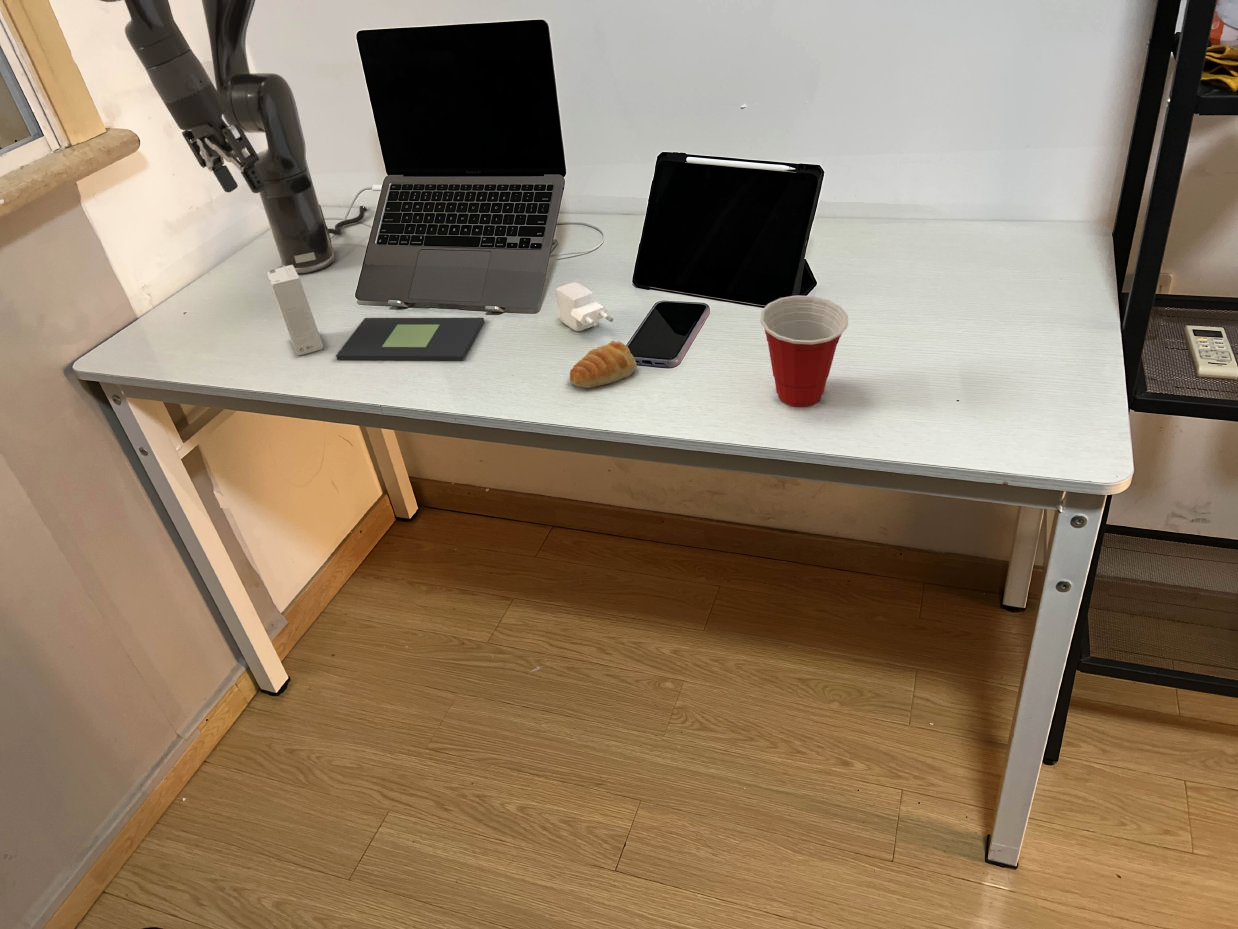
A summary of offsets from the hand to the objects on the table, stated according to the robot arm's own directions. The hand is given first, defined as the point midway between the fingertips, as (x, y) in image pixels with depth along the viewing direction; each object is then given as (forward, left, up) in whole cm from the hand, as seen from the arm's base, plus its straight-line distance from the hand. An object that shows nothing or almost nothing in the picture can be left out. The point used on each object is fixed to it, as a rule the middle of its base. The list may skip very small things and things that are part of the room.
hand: (245, 190), depth 145 cm
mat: (+12, +28, -20) cm, 36 cm away
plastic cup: (+27, +87, -20) cm, 93 cm away
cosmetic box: (+14, +11, -20) cm, 27 cm away
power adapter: (+9, +55, -20) cm, 59 cm away
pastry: (+22, +60, -20) cm, 66 cm away
